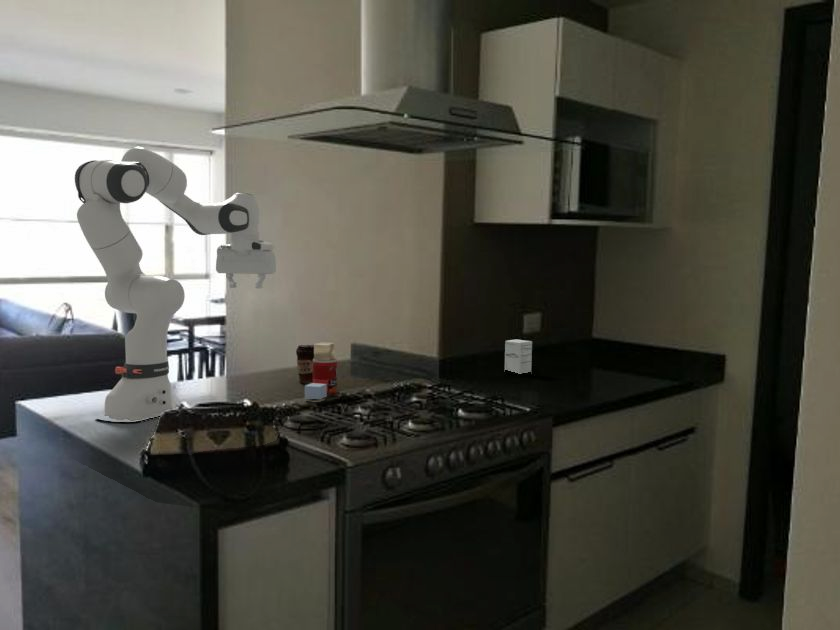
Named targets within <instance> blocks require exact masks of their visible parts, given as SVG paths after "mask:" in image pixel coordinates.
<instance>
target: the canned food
mask: <svg viewBox="0 0 840 630" xmlns="http://www.w3.org/2000/svg"><path fill="white" fill-rule="evenodd" d="M313 383H318V384H327V395H332V394H331V393H334V394H336V393H337V391H338V359H337V358H336V357H335V358H334V359H331V360H314V359H313Z"/></svg>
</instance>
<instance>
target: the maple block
mask: <svg viewBox="0 0 840 630" xmlns="http://www.w3.org/2000/svg"><path fill="white" fill-rule="evenodd" d="M313 345H314V360H331V359H334V358H336V356H335V355H336V350H335V349H336V348H335V347H336V343H335V342H318V343H317V342H316V343H314V344H313Z"/></svg>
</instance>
